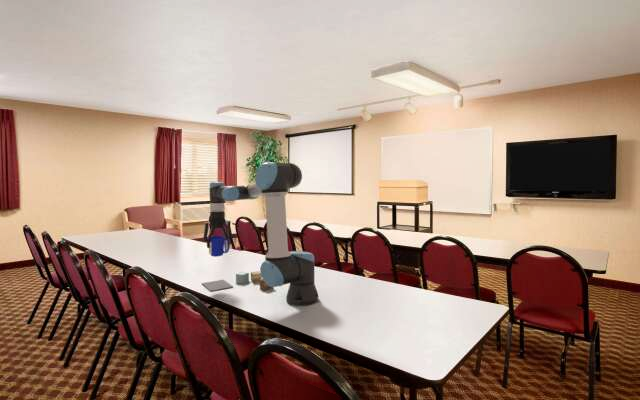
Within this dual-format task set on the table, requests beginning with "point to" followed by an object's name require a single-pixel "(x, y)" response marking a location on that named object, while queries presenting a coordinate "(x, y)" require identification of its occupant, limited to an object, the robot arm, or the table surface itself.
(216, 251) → the mug
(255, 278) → the oak block
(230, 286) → the trivet
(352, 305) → the table surface
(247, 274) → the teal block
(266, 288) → the walnut block
